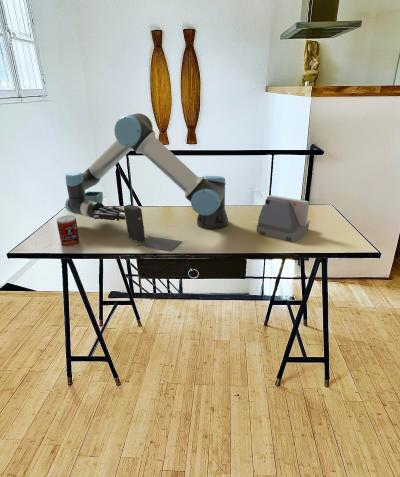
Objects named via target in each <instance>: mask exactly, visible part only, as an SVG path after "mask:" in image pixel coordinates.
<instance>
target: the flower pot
mask: <svg viewBox="0 0 400 477" xmlns="http://www.w3.org/2000/svg"><path fill="white" fill-rule="evenodd" d="M103 193H104V192H103V191H85V195H86V200H90V201H95V202H99V203H102V204H103V201H104V200H103V198H104V197H103Z"/></svg>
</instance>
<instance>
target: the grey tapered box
mask: <svg viewBox="0 0 400 477" xmlns="http://www.w3.org/2000/svg"><path fill="white" fill-rule="evenodd" d="M261 207H262V208H261V211H260V214H259V216H258V218H257V220H258V221H257V222H258V223H257V225H256V234H258V235H262V236H266V237H268V238H269V237H270V238H275V239H279V240H282V241H287V242H291V243H296V242H299V240H301V238H302V237H303V236H304V235H306V233H307V232H308V231H309V228H310V224H311V223H310V221H311V220H310V219H308V215H309V207H310V203H309V201H308V200H302V199H296V198H291V197H285V196H278V195H271V194H270V195H267V197H266V199H265V203H264V204H263V205H262V206H261Z"/></svg>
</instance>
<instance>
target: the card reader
mask: <svg viewBox="0 0 400 477" xmlns="http://www.w3.org/2000/svg"><path fill="white" fill-rule="evenodd" d="M123 210H124V212H125V216H126V220H125V223H126V229H127V231H126V232H127V236H128V239H131V240H133V241H135V242H137V243H140V242H142V241H144V240H145V239H146V237H145V236H146V235H145V234H146V233H145V228H144V226H145V225H144V219H143V212H142V209H141V207H138V206H136V205H133V204H127V205H124V206H123Z"/></svg>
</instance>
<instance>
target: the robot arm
mask: <svg viewBox="0 0 400 477" xmlns="http://www.w3.org/2000/svg"><path fill="white" fill-rule="evenodd" d="M113 131H114V136H115V139H116V140H115V141H114V142H113V143H112V144H111V145H109V147H108V148H107V149H106V150H105V151H104V152H103V153H102V154H101V155H100V156H99V157H98V158H97V159H96V160H95V161H94V162H93V163H92V164H91V165H90V166H89V167H88V168H87V169H86V170H85V171H83V172H80V171H73V172H68V173H66V174H65V185H66V189H67V195H68V198H67V199H66V200H65V205H64V206H65V209H66V211H67V212H70V213H73V214H74V215H80V216H83V217H88V218H91V219H92V218H93V219H94V220H106V221H117V222H120V220H123V221H126V216H125V212H124V209H122V208H119V207H117V206H116V205H112V207H109V206H105V205H104V204H103V202H102V203H99V202H95V201H90V200H86V195H85V193H86V190H88V189H90V188H92V187H94V186H96V185H97V184H98V183H99V182H100V181H101V179H102V178H104V176H105V175H106V174H108V172H109V171H110V170H111V169H112V168H114V167H115V166H116V165H117V164H118V163H119V162H120V161H121V160H122V159H123V158H124V157H126V155H128V154H129V152H130V151H133V152H135V153H136V154H142V155H143V156H145V157H146V158H147V159H148V160H149V161H150V162H151V163H152V164H153V165H154V166H156V167H157V168H158V169H159V170H160V171H161V172H162V173H163V174H164V175H165V176H166V177H168V178H169V180H171V181H172V182H173V183H174V184H175V185H177V187H178V188H180V189H181V190H182V191H183V192H184V197H185V199H186V200H188V202H190V204H191V208H192V210H193V211H194V213H196V214H198V215H197V218H196V225H197V226H198V227H200V228H202V229H206V230H217V229H222V228H225V227H227V226H228V225H229V218H228V214H227V211H226V178H225V177H223V176H221V175H220V176H218V175H204V176H198V175H196V174H195V173H194V171H192V170H191V169H190V168H189V167H188V165H186V164H185V163H183V161H181V160H180V159H179V158H178V157H177V156H176V155H175V154H174V153H173V152H172V151H170V149H168V148H167V146H166V145H164V144H163V142H161V141H160V140H159V139H158V138H157V136H156V132H155V130H154V128H153V123H152V121H151V119H150V117H149V116H147V115H145V114H143V113H133V114H125V115H123V116H121V117H120V118H119V119H117V121H116V122H115V125H114V130H113Z"/></svg>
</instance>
